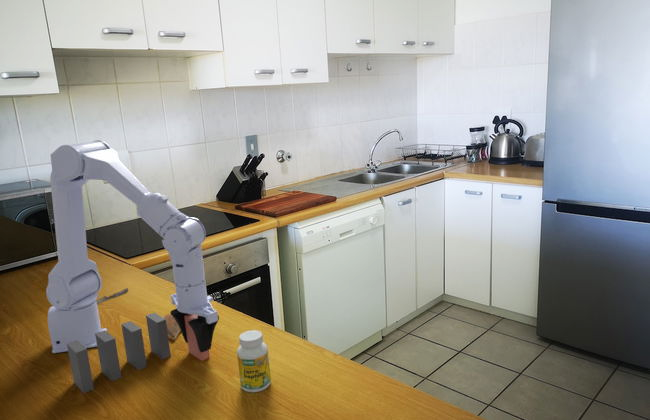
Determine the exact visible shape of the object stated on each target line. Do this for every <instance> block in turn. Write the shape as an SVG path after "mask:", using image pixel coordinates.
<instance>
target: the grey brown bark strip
mask: <svg viewBox="0 0 650 420" xmlns="http://www.w3.org/2000/svg"><path fill="white" fill-rule="evenodd" d="M128 292H129V288H127V287H126V288H124V289H122V290H120V291H117V292H115V293H113V294H111V295H109V296H102V297H100V298H99V299H96V302H97V306H99V305H101V304H102V303H104V302H106V301H109V300H111V299H113V298H116V297H120V296H122V295H124V294H126V293H128Z"/></svg>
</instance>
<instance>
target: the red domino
mask: <svg viewBox="0 0 650 420" xmlns="http://www.w3.org/2000/svg"><path fill="white" fill-rule="evenodd" d="M184 318H185V325H186V333H187V341H188V343H187V345H188V346H187V348H188V353H190V355H192V356H193V357H195V358H197V359H198V360H200V361H202V362H203V361H204V360H207V359H209V358H210V349H209V350H207V351H205V352H203V353H202V352H200V350H199V348H198V344H197V340H196V336H195V334H194V331H193V330H192V328H191V326H190V325H189V324H188V321H191V320H193V319H196V318H198V315H192V314H188V315H186V316H184Z"/></svg>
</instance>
